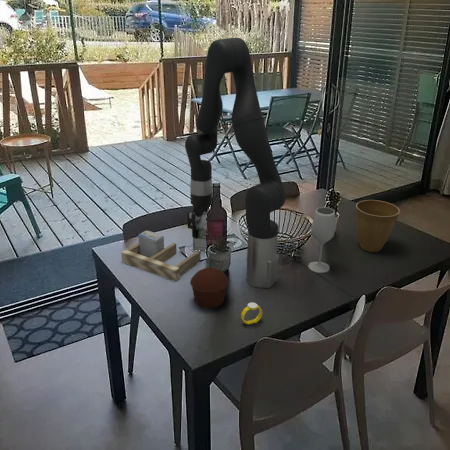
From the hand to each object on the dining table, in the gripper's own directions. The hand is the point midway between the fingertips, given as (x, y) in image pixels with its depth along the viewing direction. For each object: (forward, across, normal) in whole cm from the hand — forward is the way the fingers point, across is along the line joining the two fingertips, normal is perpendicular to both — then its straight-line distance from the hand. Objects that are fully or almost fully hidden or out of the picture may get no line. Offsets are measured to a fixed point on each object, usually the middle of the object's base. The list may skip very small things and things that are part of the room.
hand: (201, 233), depth 173 cm
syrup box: (+6, 0, 0) cm, 6 cm away
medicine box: (+6, -14, +11) cm, 19 cm away
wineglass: (+6, +10, -41) cm, 43 cm away
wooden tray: (+6, -15, +6) cm, 17 cm away
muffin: (+6, -26, -20) cm, 33 cm away
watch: (+6, -29, -36) cm, 47 cm away
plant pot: (+6, +34, -52) cm, 62 cm away
